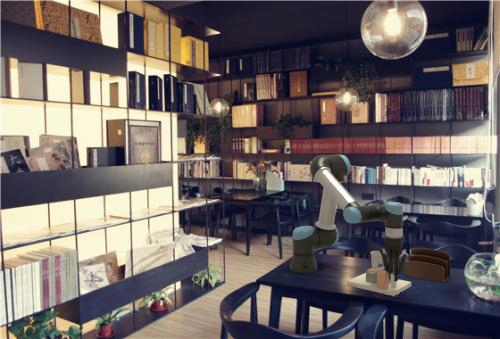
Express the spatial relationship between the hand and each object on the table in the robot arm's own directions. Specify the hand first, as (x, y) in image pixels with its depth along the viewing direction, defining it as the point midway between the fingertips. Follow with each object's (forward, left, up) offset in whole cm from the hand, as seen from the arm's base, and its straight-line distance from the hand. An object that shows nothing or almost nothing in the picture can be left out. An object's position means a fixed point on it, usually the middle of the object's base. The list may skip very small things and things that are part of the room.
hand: (393, 287), depth 197 cm
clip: (-7, 0, -1) cm, 7 cm away
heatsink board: (-11, +7, -3) cm, 13 cm away
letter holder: (+1, +37, -4) cm, 37 cm away
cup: (-19, +23, -3) cm, 30 cm away
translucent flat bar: (-11, +8, +4) cm, 14 cm away
